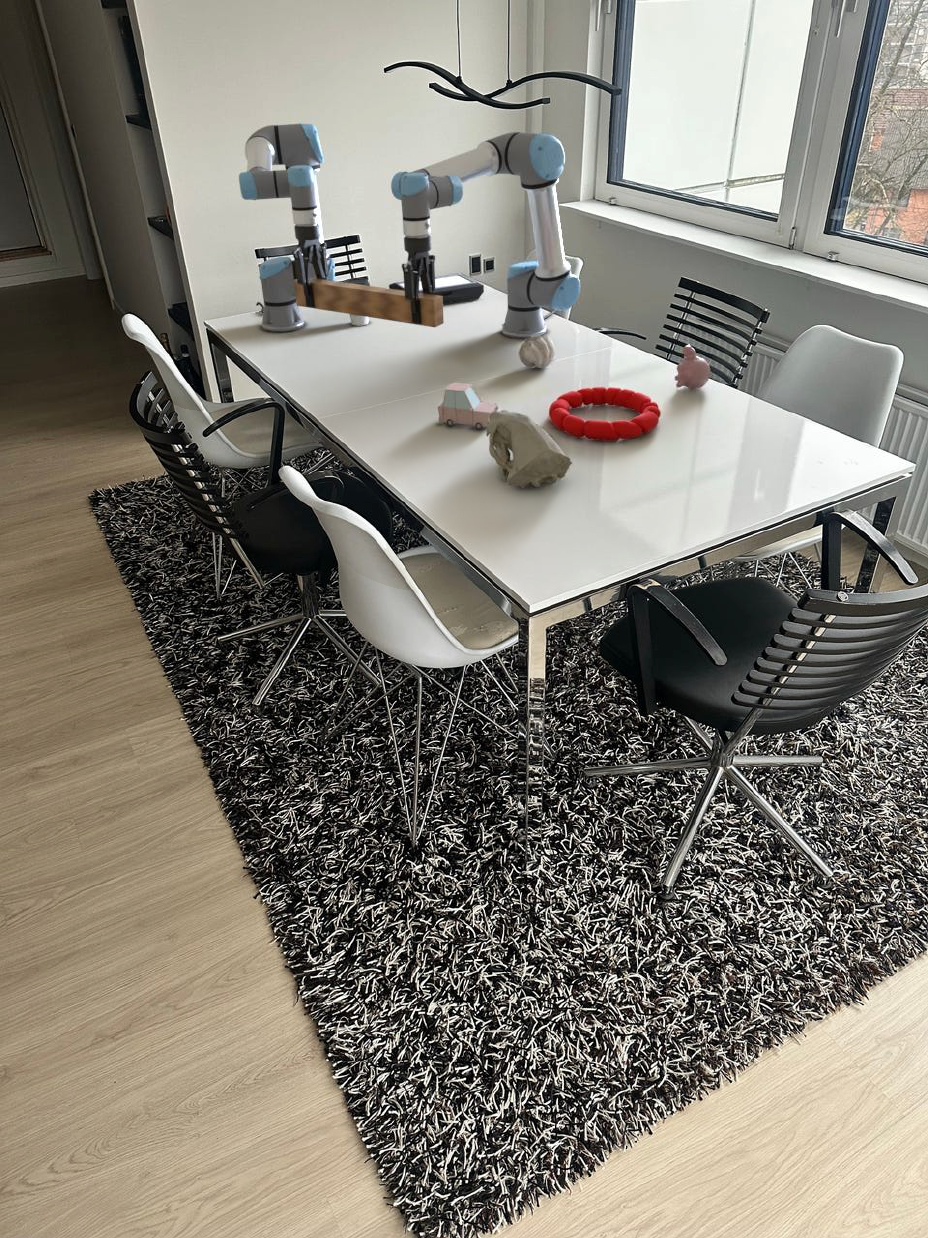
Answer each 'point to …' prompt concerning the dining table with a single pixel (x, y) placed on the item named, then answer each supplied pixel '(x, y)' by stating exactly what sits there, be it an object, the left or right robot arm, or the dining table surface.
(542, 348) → the seashell
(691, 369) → the figurine
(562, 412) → the decorative ring
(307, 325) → the dining table surface
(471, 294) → the electronic device
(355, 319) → the coffee cup
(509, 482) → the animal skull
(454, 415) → the toy car
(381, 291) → the bar
